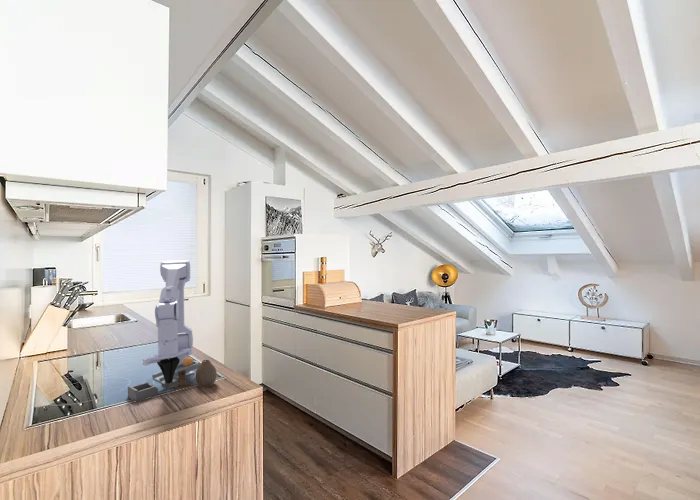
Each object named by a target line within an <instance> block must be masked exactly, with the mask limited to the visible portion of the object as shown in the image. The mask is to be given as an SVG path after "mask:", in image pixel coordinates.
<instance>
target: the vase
mask: <svg viewBox="0 0 700 500" xmlns="http://www.w3.org/2000/svg"><path fill="white" fill-rule="evenodd" d="M217 376H218V373H217V368H216V367H215V365H213V363H212V362H211V361H210V359H203V360H201V362H200V366H199V367H198V368H197V369H196V370H195V382H196V384H197V385H198V387H200V388H202V387H205V388H210V387H211V386H213V385H214V384H215V382H216V380H217Z"/></svg>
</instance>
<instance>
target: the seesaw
mask: <svg viewBox="0 0 700 500" xmlns="http://www.w3.org/2000/svg"><path fill="white" fill-rule="evenodd" d="M200 365H201V362H199V361H198V360H194V359H193V364H192V365H191V366H188V367H185V366H184V365H183V363H182V364H179V365H177V368H176V370H175V373H174V376H173V381H172V382H170V383H166V382H165V379H164V376H163V373H162V371H158V372H156V373H153V374H151V377H152V380H153V381H155V382H156V383H159V384H161V387H162V388H164V389H166V390H169V389H171V388H174V387H175V386H178V385H179V382H178V380H176V379H174V378H175V377H178V376H179V371H180V370H184V369H185V370H186V373H188V372H190V371H194V370H195V371H196V370H197V369H198V367H199V366H200Z"/></svg>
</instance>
